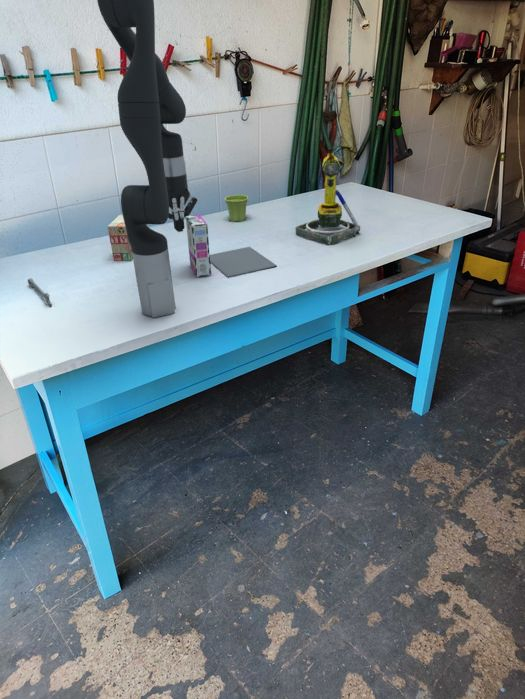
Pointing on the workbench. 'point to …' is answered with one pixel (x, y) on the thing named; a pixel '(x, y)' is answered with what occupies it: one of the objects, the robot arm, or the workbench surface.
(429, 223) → the workbench surface
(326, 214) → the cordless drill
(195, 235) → the candy bar box
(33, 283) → the combination wrench
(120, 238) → the stack of blocks
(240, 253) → the rubber mat
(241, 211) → the plant pot
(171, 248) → the workbench surface
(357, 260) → the workbench surface
